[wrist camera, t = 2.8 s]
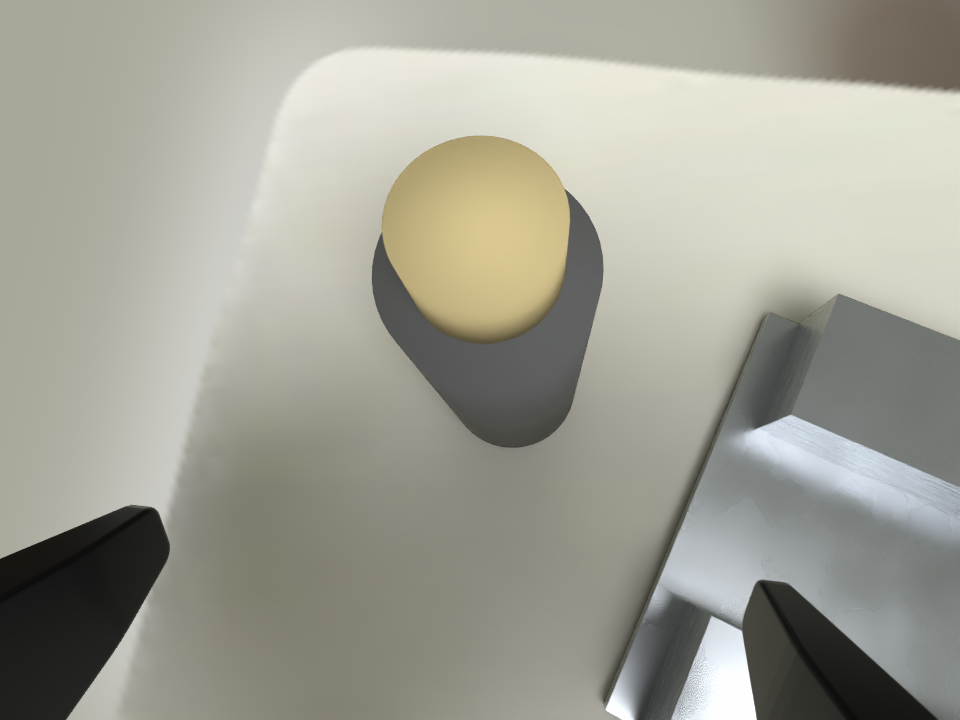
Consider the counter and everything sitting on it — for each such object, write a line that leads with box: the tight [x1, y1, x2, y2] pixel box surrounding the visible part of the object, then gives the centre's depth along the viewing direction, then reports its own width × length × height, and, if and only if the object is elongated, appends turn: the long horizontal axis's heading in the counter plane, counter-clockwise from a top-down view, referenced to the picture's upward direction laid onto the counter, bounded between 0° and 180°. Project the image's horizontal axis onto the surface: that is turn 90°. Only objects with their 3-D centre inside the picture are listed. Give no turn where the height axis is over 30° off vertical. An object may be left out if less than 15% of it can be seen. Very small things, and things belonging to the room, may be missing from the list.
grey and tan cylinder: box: [372, 136, 603, 447], centre depth 16 cm, size 4×4×13 cm
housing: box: [604, 294, 960, 720], centre depth 18 cm, size 14×14×4 cm
